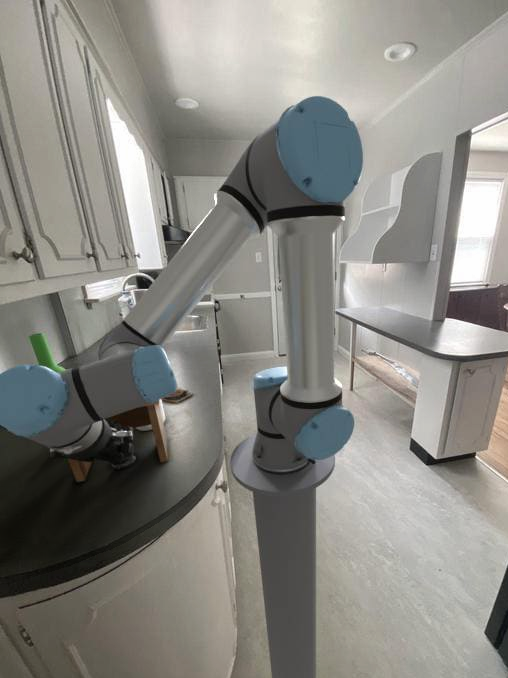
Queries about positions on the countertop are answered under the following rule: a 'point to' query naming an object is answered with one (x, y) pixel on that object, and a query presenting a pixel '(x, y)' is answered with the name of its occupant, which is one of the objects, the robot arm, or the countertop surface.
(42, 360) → the wine bottle
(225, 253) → the robot arm
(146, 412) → the desk
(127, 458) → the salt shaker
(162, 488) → the countertop surface
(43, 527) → the countertop surface
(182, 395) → the brown sandwich
